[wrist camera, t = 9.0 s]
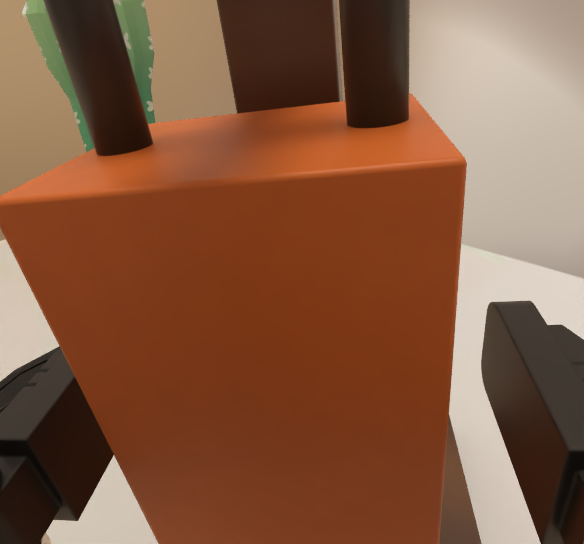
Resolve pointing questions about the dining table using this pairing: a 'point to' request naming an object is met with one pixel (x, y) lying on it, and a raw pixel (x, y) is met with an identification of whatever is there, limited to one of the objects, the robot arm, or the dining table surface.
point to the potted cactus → (137, 45)
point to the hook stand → (301, 92)
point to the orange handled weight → (257, 293)
